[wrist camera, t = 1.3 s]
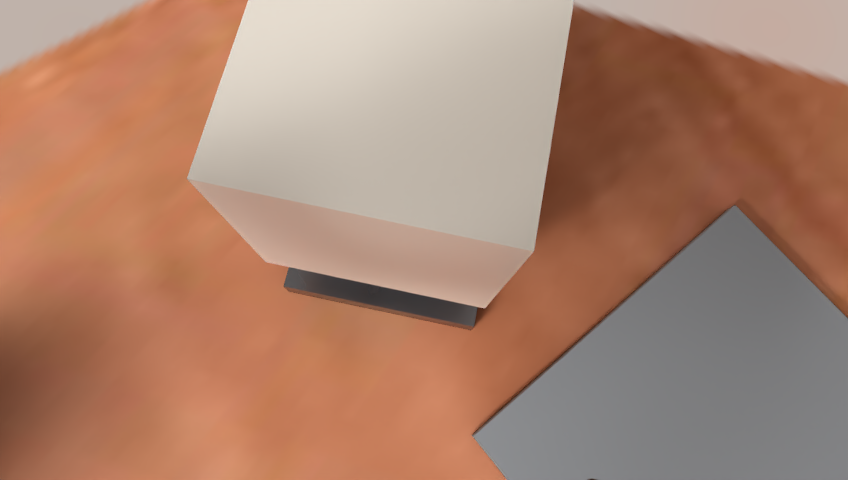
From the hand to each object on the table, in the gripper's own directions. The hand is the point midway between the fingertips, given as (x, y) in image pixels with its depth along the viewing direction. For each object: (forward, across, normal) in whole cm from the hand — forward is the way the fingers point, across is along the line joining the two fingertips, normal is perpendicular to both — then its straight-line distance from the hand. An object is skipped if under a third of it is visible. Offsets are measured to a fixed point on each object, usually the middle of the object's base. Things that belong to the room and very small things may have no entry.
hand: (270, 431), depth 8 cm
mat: (+10, -14, +9) cm, 20 cm away
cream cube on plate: (+12, 0, +1) cm, 12 cm away
